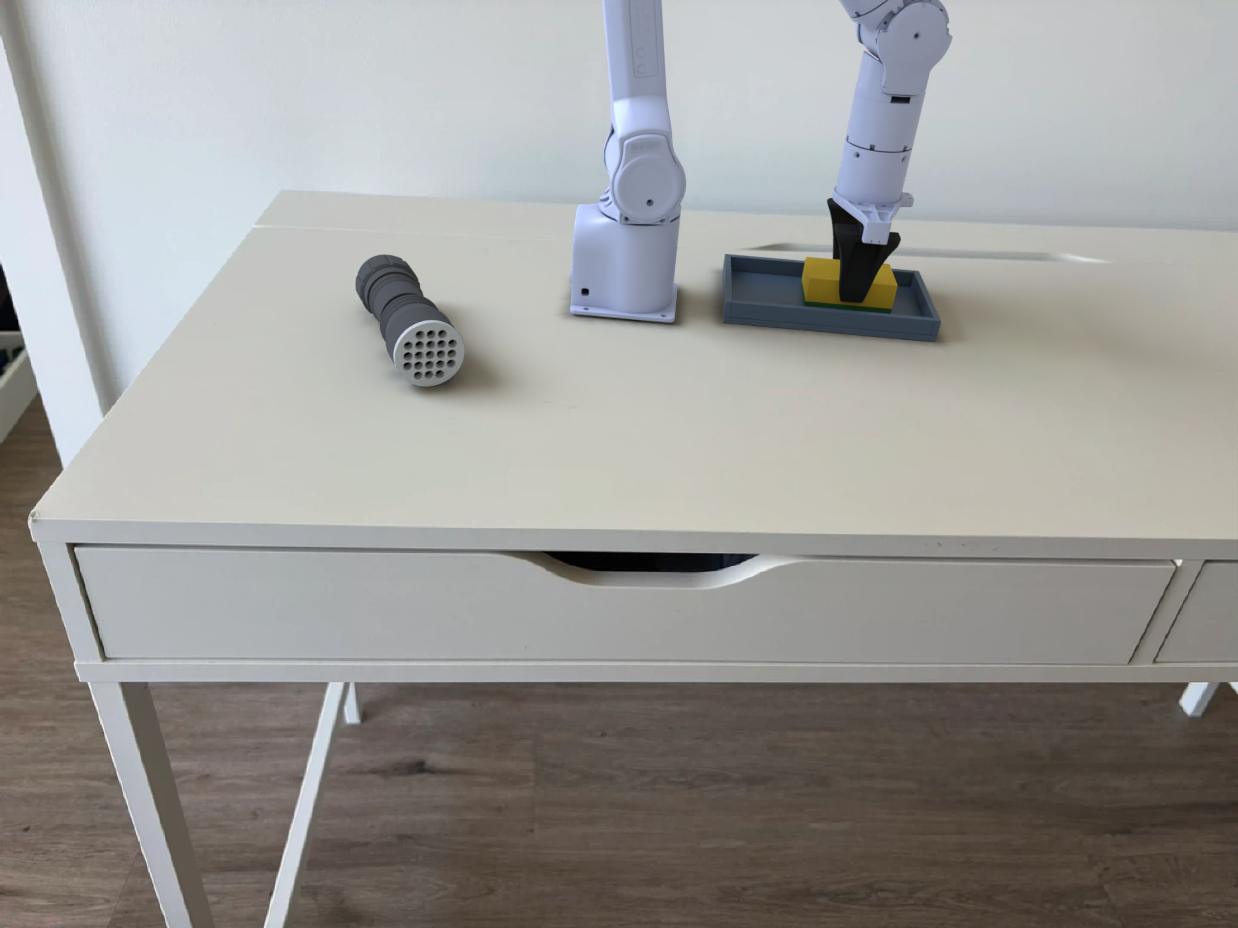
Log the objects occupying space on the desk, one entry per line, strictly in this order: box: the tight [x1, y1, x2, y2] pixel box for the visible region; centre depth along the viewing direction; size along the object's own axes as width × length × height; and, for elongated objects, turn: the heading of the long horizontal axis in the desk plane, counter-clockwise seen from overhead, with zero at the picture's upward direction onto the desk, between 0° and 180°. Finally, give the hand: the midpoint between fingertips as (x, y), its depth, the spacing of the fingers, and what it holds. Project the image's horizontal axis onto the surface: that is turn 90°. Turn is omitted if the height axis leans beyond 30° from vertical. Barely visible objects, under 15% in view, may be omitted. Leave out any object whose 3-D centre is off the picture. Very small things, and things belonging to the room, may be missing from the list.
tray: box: [721, 253, 942, 343], centre depth 88 cm, size 19×11×2 cm, turn 85°
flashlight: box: [355, 253, 465, 388], centre depth 76 cm, size 15×5×5 cm, turn 25°
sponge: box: [801, 256, 898, 314], centre depth 88 cm, size 8×5×3 cm, turn 85°
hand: (847, 288), depth 88 cm, fingers closed on sponge, 5 cm apart
